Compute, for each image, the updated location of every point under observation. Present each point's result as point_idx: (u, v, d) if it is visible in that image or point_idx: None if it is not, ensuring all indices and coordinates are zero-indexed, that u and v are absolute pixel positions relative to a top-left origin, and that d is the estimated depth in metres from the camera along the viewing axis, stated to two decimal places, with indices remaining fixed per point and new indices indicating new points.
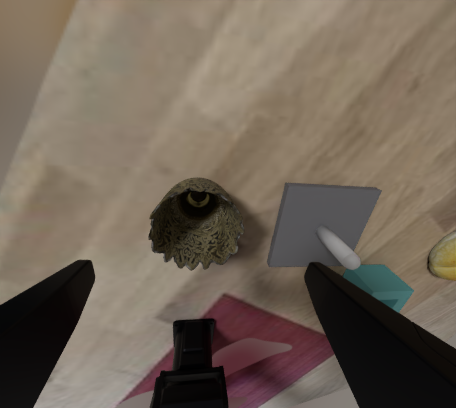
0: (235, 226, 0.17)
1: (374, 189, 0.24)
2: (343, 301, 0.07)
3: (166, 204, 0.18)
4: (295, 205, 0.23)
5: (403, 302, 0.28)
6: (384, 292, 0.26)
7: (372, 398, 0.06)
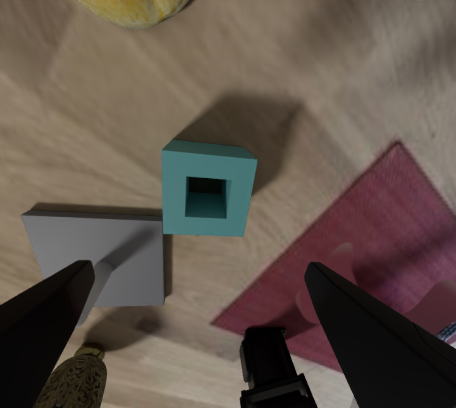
0: (60, 394, 0.21)
1: None
2: (343, 301, 0.07)
3: None
4: None
5: (198, 160, 0.13)
6: (165, 213, 0.14)
7: (372, 398, 0.06)
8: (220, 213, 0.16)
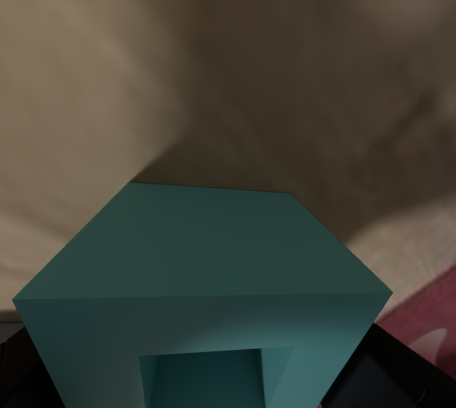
0: None
1: None
2: None
3: None
4: None
5: (180, 313, 0.03)
6: None
7: (334, 402, 0.06)
8: (245, 377, 0.06)
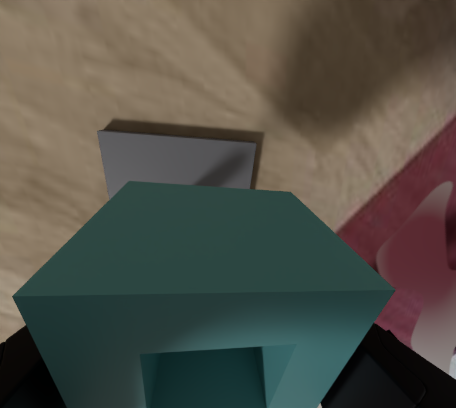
0: None
1: None
2: None
3: None
4: None
5: (181, 310, 0.03)
6: None
7: (334, 402, 0.06)
8: (246, 376, 0.06)
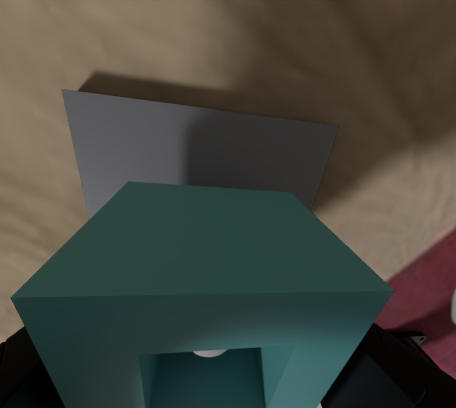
0: None
1: None
2: None
3: None
4: None
5: (179, 311, 0.03)
6: None
7: (334, 402, 0.06)
8: (246, 377, 0.06)
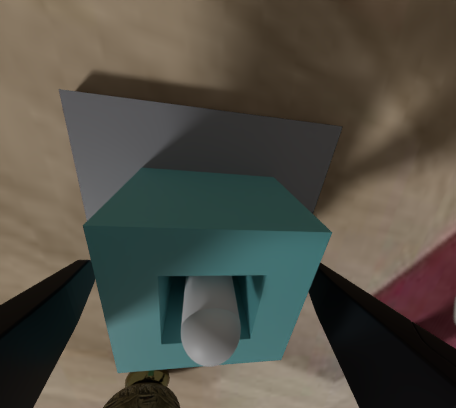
0: None
1: None
2: (343, 301, 0.07)
3: None
4: None
5: (185, 241, 0.05)
6: (116, 343, 0.07)
7: (372, 398, 0.06)
8: None
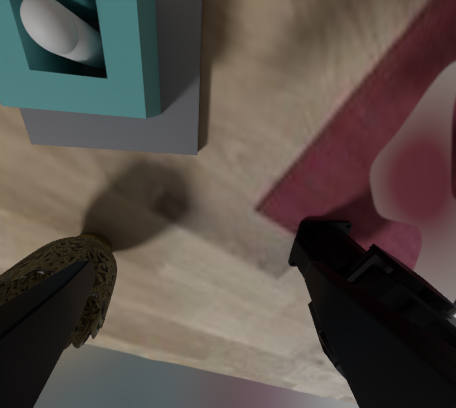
0: (45, 263, 0.13)
1: None
2: (343, 301, 0.07)
3: None
4: (63, 126, 0.14)
5: None
6: None
7: (372, 398, 0.06)
8: None
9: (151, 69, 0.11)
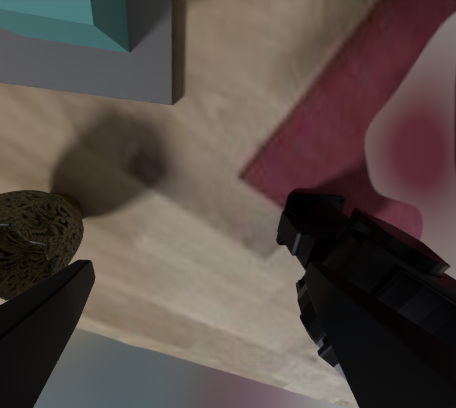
0: None
1: None
2: (343, 301, 0.07)
3: (40, 258, 0.17)
4: (22, 61, 0.13)
5: None
6: None
7: (372, 398, 0.06)
8: None
9: None
